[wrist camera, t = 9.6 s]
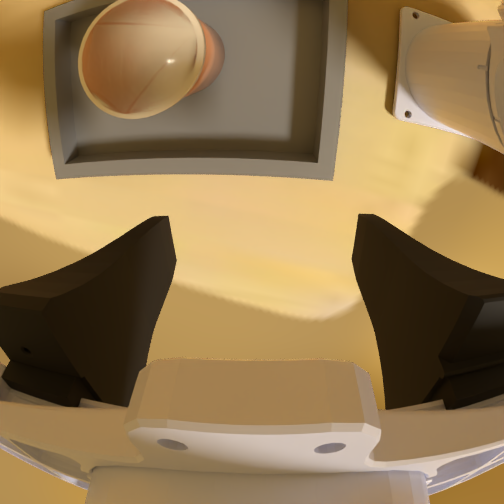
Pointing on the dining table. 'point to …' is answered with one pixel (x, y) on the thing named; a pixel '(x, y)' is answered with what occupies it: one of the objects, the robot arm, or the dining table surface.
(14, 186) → the dining table surface
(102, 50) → the cup
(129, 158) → the serving tray
